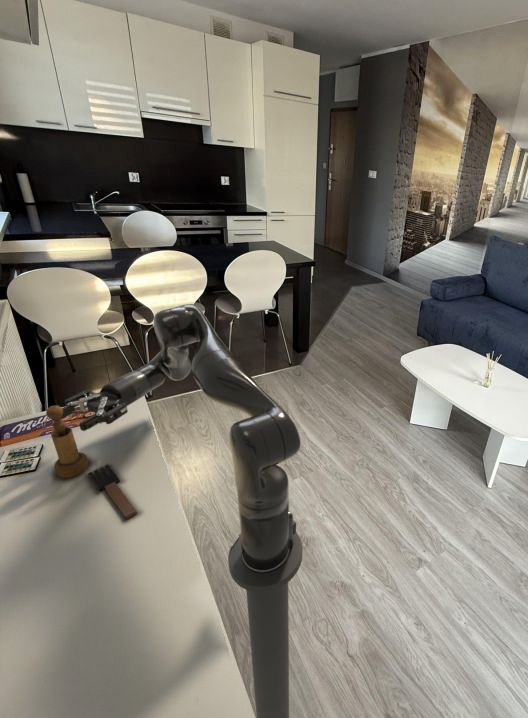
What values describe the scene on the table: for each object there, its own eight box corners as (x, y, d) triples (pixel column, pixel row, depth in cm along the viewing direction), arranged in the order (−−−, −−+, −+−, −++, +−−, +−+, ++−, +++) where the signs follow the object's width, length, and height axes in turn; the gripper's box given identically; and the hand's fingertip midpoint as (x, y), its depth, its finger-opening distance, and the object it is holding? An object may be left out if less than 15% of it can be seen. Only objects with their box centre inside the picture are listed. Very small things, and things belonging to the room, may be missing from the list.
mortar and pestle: (89, 472, 95) (70, 411, 87) (56, 481, 92) (33, 419, 84) (88, 455, 100) (70, 396, 92) (57, 464, 97) (35, 403, 89)
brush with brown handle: (142, 510, 87) (142, 507, 86) (121, 522, 84) (120, 519, 83) (108, 466, 98) (107, 464, 97) (88, 475, 94) (87, 473, 94)
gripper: (104, 371, 106) (41, 401, 93) (145, 384, 102) (86, 417, 88) (110, 394, 110) (50, 426, 96) (149, 408, 106) (93, 444, 92)
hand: (67, 422), depth 92 cm, fingers open, 8 cm apart
